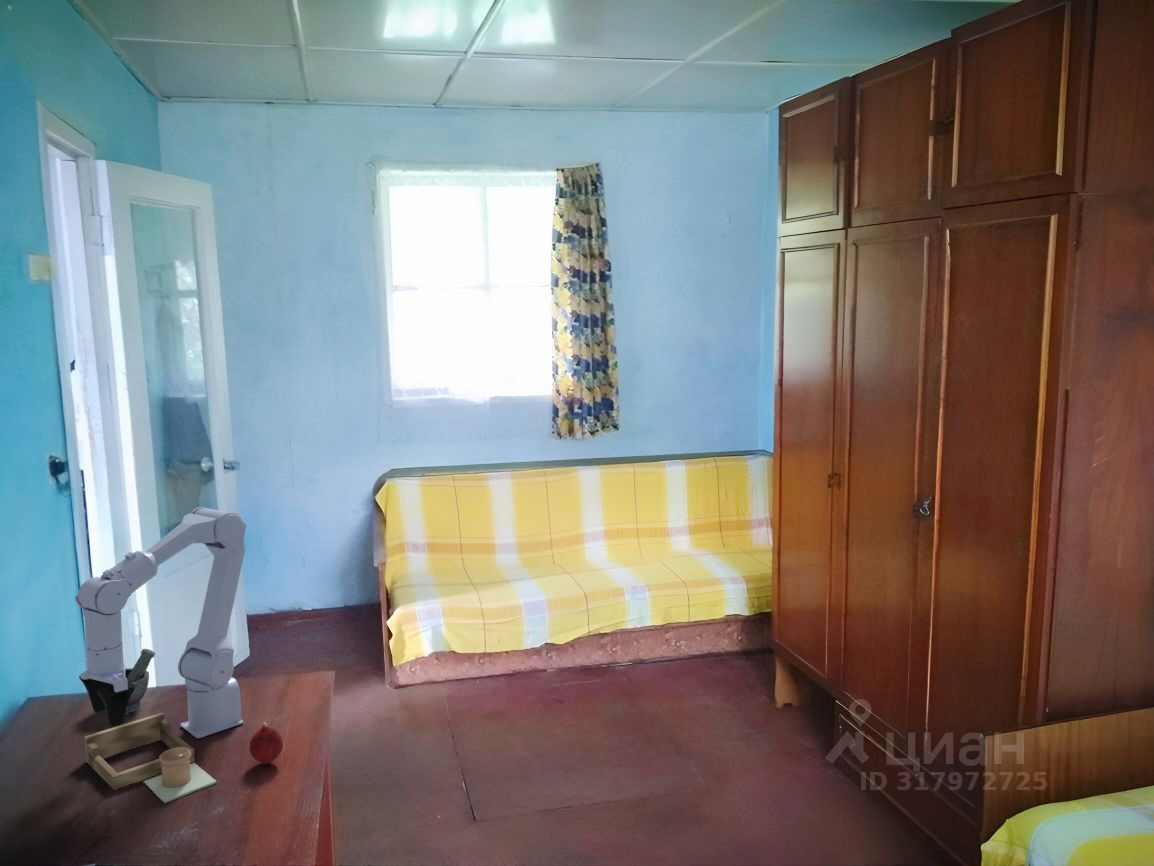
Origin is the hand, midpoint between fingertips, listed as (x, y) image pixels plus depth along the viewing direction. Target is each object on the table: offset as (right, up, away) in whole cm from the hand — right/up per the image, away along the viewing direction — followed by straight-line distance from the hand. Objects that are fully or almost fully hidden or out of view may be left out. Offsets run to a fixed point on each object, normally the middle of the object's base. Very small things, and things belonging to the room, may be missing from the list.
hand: (108, 717), depth 157 cm
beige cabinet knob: (+13, -11, -2) cm, 17 cm away
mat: (+14, -11, -2) cm, 18 cm away
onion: (+27, -11, +5) cm, 29 cm away
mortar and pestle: (-10, -7, +27) cm, 30 cm away
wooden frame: (+3, -10, +5) cm, 12 cm away
